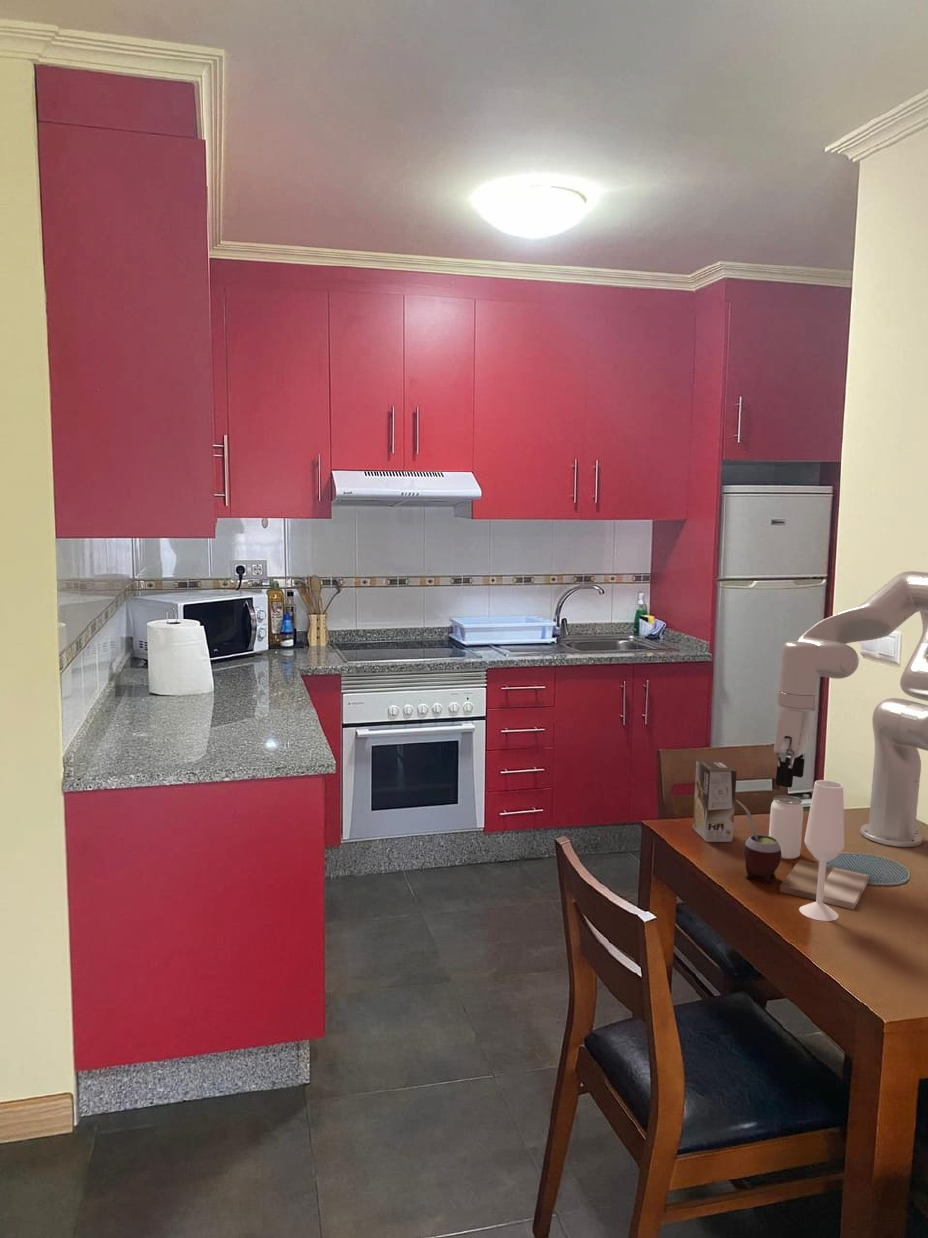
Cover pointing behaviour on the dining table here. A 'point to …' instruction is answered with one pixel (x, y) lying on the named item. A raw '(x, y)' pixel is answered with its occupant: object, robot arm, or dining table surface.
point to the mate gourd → (761, 854)
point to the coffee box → (714, 800)
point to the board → (838, 884)
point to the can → (787, 825)
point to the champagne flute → (824, 839)
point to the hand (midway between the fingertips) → (789, 781)
